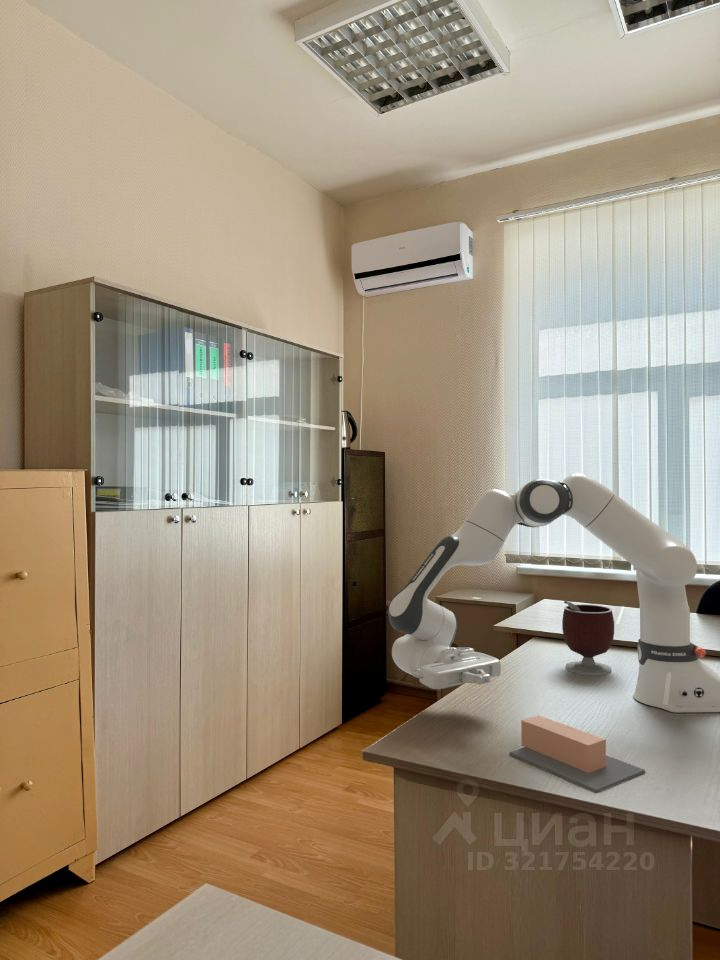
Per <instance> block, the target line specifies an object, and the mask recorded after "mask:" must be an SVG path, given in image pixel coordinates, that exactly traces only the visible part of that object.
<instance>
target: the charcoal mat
mask: <svg viewBox="0 0 720 960" xmlns="http://www.w3.org/2000/svg"><path fill="white" fill-rule="evenodd" d="M508 754H509V756H511V757H514V758H516V759H518V760H521V761H523V762H525V763H527V764H530V765H532V766H534V767H536V768H539V769H541V770H544V771H546V772H548V773H551V774H553V775H555V776H557V777H560V778H562V779H564V780H566V781H569V782H571V783H573V784H576V785H578V786H580V787H582V788H585V789H587V790H589V791H591V792H594V793H600V792H601V791H605V790H606V789H609V788H612V787H614V786H616V785H618V784H621V783H623V782H626V781H628V780H631V779H633V778H636V777H637V776H638V777H639V776H640V775H643V774H645V773H646V770H645V769H644V768H641V767H639V766H635V765H633V764H630V763H627V762H625V761H622V760H620V759H618V758H615V757H612V756H610V755H607V754H606V767H603V768H601V769H598V770H595V771H593V772H590V773H587V772H585V771H582V770H580V769H577V768H575V767H573V766H570V765H568V764H565V763H563V762H561V761H558V760H556V759H553V758H551V757H549V756H546V755H544V754H541V753H539V752H537V751H534V750H532V749H529V748H527V747H524V746H522V747H520V748H518V749H515V750H512V751H508Z"/></svg>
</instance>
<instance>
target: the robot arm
mask: <svg viewBox="0 0 720 960" xmlns="http://www.w3.org/2000/svg"><path fill="white" fill-rule="evenodd" d="M564 515H565V516H567V517H569V518H571V519H573V520H575V521H576V522H577V523H579V524H580V525H581V526H582V527H583V528H585V529H586V530H587V531H588V532H589V533H591V534H592V535H594V536H595V537H596V538H597V539H598V540H599V541H601V543H604V544H605V545H606V546H608V548H610V549H611V550H612V551H614V552H615V553H616V554H618V555H619V556H620V557H621V558H622V559H624V560H625V561H627V562H628V563H629V564H631V565H632V566H633V567H634V568H635V571H636V573H635V574H636V585H637V594H638V595H637V596H638V602H639V620H640V621H639V637H640V638H639V639H638V640H637V641H638V644H637V661H638V663H639V665H638V674H637V678H636V679H637V680H636V684H635V689H634V692H633V695H632V697H633V698H634V700H635V701H638V702H640V703H642V704H644V705H648V706H651V707H654V708H655V707H656V708H659V709H663V710H665V711H667V712H670V713H720V675H719V674H718V673H717V672H716V671H714V670H713V669H712V668H711V667H709V665H707V664H706V663H704V662H703V661H702V660H701V659H699V658H704V657H705V656H706V653H707V652H706V650H704V648H703V647H700V646H698V645H696V644H694V643H693V642H691V611H690V606H689V603H688V597H687V592H686V586H687V585H689V583H691V582H692V581H693V580H694V579H695V577H696V574H697V571H698V562H697V559H696V557H695V555H694V553H693V551H692V550H691V549H690V548H689V547H688V546H686V545H685V544H684V543H683V542H681V541H680V540H678V538H676V537H675V536H673V535H672V534H671V533H669V532H668V531H666V530H665V529H663V528H662V527H661V526H659V525H658V524H657V523H655V522H654V521H652V520H650V519H649V518H648V517H646V516H645V515H644V514H642V513H641V512H639V511H638V510H637V509H635V508H634V507H633V506H631V505H630V504H629V503H628V502H627V501H625V499H623V498H622V497H620V496H619V495H618V494H616V493H615V492H614V491H612V490H611V489H610V488H608V487H607V486H606V485H604V484H602V483H600V482H599V481H597V480H595V479H594V478H592V477H590V476H588V475H586V474H584V473H581V472H576V473H573V474H570V475H568V476H566V477H565V478H564V479H563V480H562V481H559V480H553V479H547V478H537V479H533V480H531V481H529V482H528V483H526V484H524V485H523V486H522V487H521V488H520V489H519V490H517V492H515V493H514V494H513V493H509V492H506V491H504V490H501V489H488V490H486V491H485V492H484V493H483V494H482V495H481V496H480V497H479V499H477V501H476V503H474V505H473V507H472V508H471V509H470V511H469V513H467V516H466V517H465V519H464V521H463V523H462V525H461V526H460V527H459V528H458V529H457V530H456V531H455V532H454V533H453V534H451V535H449V536H444V538H442V539H441V540H440V541H439V542H438V543H437V544H436V545H435V546H434V548H433V549H432V551H430V552H429V554H428V555H427V557H426V558H425V559H424V561H423V562H422V563H421V564H420V566H419V567H418V569H417V570H416V571H415V573H413V575H412V576H411V578H410V580H409V581H408V582H407V583H406V585H404V587H402V589H400V590H399V591H398V592H397V593H396V594H395V595H394V596H393V597H392V599H391V601H390V602H389V605H388V609H387V611H388V612H387V613H388V619H389V623H390V626H391V627H392V628H393V629H394V630H395V631H397V632H400V633H403V634H405V635H404V636H400V637H399V638H397V639H396V640H395V641H394V642H393V645H392V646H391V657H392V660H393V662H394V663H395V665H396V666H397V667H398V668H399V669H400V670H401V671H403V672H405V673H407V674H409V675H412V677H414V678H416V679H419V682H420V683H421V685H423V686H426V687H428V688H430V689H432V690H442V689H446V688H451V687H456V686H461V685H466V684H476V685H479V686H480V685H484V684H488V683H491V679H492V678H496V677H500V676H501V671H502V669H501V665H502V664H501V660H499V658H496V657H494V656H492V655H489V654H486V653H482V652H478V651H475V648H472V647H465V646H463V647H457V646H456V647H453V646H452V644H453V643H454V640H455V637H456V634H457V629H458V622H457V618H456V615H455V614H454V612H453V611H452V610H449V609H448V608H446V607H445V606H442V605H440V604H438V603H436V602H434V601H433V600H430V599H429V598H428V596H429V594H430V593H431V592H432V590H433V589H434V588H435V586H436V585H437V584H438V583H439V581H440V579H441V578H442V577H443V576H444V575H445V573H446V572H447V571H448V570H449V569H451V568H453V567H456V566H457V567H458V566H469V567H470V566H472V567H477V566H483V565H486V564H488V563H491V562H492V561H494V559H496V557H497V556H498V554H499V553H500V551H501V549H502V548H503V545H504V544H505V542H506V539H507V538H508V536H509V534H510V532H511V531H512V529H514V527H515V526H516V525H520V526H524V527H528V528H540V527H545V526H547V525H550V524H551V523H552V522H554V521H555V520H557V519H558V518H560V517H562V516H564Z"/></svg>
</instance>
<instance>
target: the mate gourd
mask: <svg viewBox="0 0 720 960" xmlns="http://www.w3.org/2000/svg"><path fill="white" fill-rule="evenodd" d="M563 603H564V604H566V605H565V606H564V609H563V614H562V620H561V622H562V625H561V626H562V636H563V639H564V643H565V645H566V646H567V647H568V649H569V650H570V651H572V652H574V653H576V654H578V655H580V656H581V657H582V659H581V660H577V661H576V660H575V661H569V662H567V663H566V664H565V669H566V670H567V671H568V672H570V671H571V673H573V672H574V673H573V674H579V675H583V674H584V675H583V676H605V675H609V674H611V673H612V667H611V666H609V665H608V664H605V663H601V662H597V661H595V659H594V657H597V656H600V655H602V654H605V653H607V652H608V651H609V649H611V647H612V645H613V642H614V637H615V619H614V613H613V609H612V608H611V607H608V606H603V605H597V604H585V603H582V604H574V603H572V602H571V601H567V600H564V601H563Z"/></svg>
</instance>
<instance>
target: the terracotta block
mask: <svg viewBox="0 0 720 960" xmlns="http://www.w3.org/2000/svg"><path fill="white" fill-rule="evenodd" d="M520 724H521V727H520V728H521V730H520V731H521V738H520V739H521V746H522V747H527V748H529V749H532V750H534V751H537V752H539V753H541V754H544V755H546V756H549V757H551V758H553V759H556V760H558V761H561V762H563V763H565V764H568V765H570V766H573V767H575V768H577V769H580V770H582V771H585V772H587V773H590V772H593V771H595V770H598V769H601V768H603V767H606V755H607V743H606V742H607V739H606V738H603V737H600V736H598V735H594V734H592V733H590V732H588V731H587V732H586V731H583V730H581V729H578V728H575V727H572V726H569V725H567V724H564V723H561V722H558V721H556V720H552V719H549V718H547V717H544V716H541V715H539V714H538V715H535V716H532V717H527V718H524V719H521V723H520Z"/></svg>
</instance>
